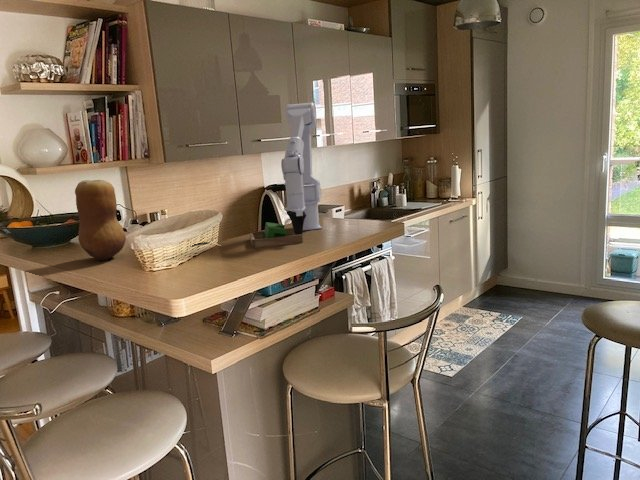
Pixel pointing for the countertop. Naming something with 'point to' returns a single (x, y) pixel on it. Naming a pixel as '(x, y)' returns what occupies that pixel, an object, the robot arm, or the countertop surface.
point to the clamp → (274, 230)
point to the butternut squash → (98, 219)
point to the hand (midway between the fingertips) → (298, 234)
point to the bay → (274, 239)
